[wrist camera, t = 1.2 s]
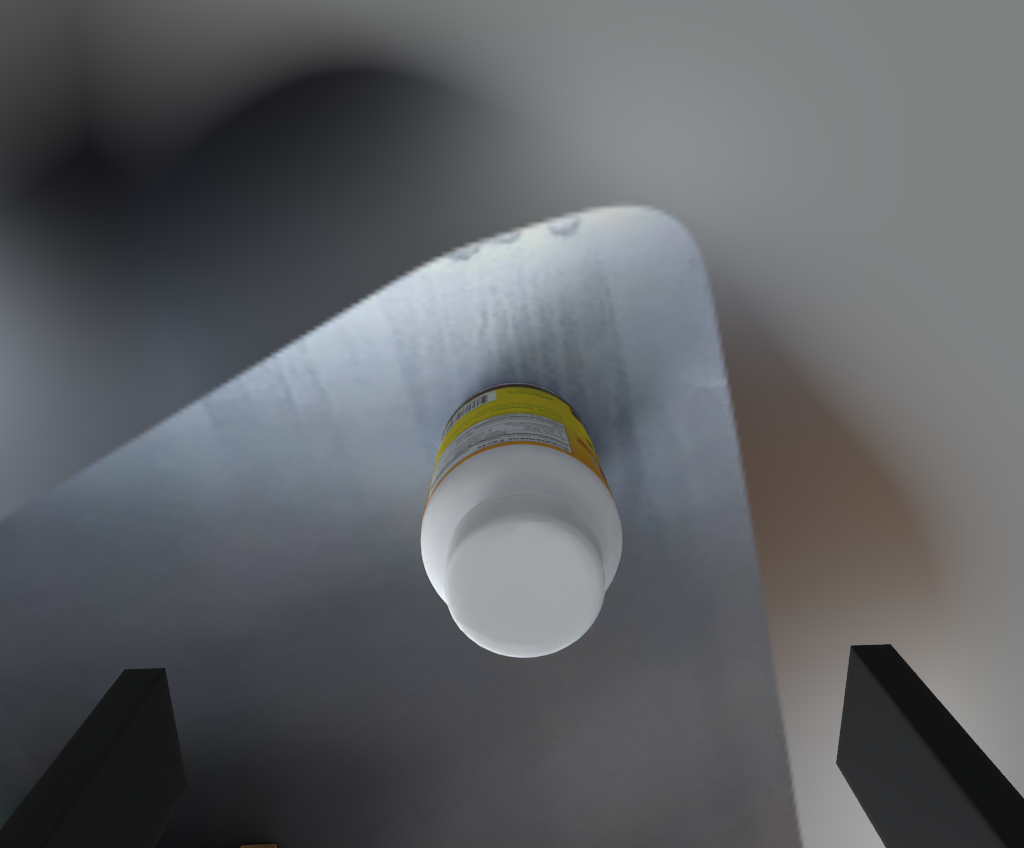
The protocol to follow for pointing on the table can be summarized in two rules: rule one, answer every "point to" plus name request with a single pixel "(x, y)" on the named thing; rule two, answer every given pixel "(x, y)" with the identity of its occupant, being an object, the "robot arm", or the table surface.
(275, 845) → the shelf
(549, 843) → the table surface
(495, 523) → the supplement bottle
